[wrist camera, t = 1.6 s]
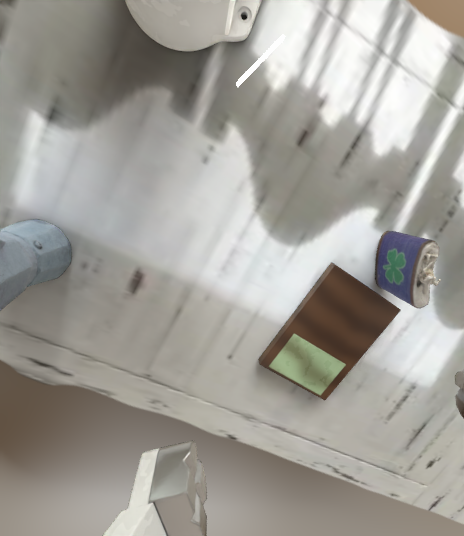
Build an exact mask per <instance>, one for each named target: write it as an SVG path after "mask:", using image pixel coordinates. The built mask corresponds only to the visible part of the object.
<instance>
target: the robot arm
mask: <svg viewBox="0 0 464 536" xmlns="http://www.w3.org/2000/svg"><path fill="white" fill-rule="evenodd" d="M261 1H262V0H125V2H126V4H127V7H128V9H129V11H130V13H131V15H132V16H133V18H134V20H135V21H136V22H137V24H138V25H139V26H140V28H141V29H142V30H143V31H144V32H145V33H146V34H147V35H148V36H149V37H151V38H152V39H153V40H155V41H156V42H158V43H159V44H161V45H163V46H165V47H168V48H170V49H174V50H178V51H196V50H201V49H204V48H207V47H209V46H211V45H213V44H215V43H218V42H221V41H228V42H239V41H243V40H245V39H246V38H247V37H248V36H249V33H250V31H251V28H252V25H253V23H254V20H255V17H256V15H257V12H258V9H259V7H260V4H261ZM242 15H245V16H246V17H247V19H246V20H243V19H242V18H241V16H242ZM284 38H285V36H284V35H282V36H281V37H280V38H279V39H278V40H277V41H276V42H275V43H274V44H273V45H272V46H271V47H270V48H269V49H268V50H267V52H266V53H265V54H264V55H263V56H262V57H261V58H260V59H259V60H258V61H257V62H256V63H255V64H254V65H253V66H252V67H251V68H250V69H249V70H248V71H247V72H246V73H245V74H244V75H243V76H242V77H241V78H240V79H239V80H238V81H237V83H236V85H237V86H239V85H240V84H241V83H242V82H243V81H244V80H245V79H246V78H247V77H248V76H249V75H250V74H251V73H252V72H253V71H254V70H255V69H256V68H257V67H258V66H259V65H260V64H261V63H262V62H263V61H264V60H265V59H266V58H267V57H268V55H269V54H270V53H271V52H272V51H273V50H274V49H275V48H276V47H277V46H278V45H279V44H280V43H281V42H282V41H283V40H284ZM455 384H456V385H457V386H458V387H459V388H460V389H459V391H458V392H457V394H456V406H457V408H458V410H459V412H460V414H461V416H462V417H463V418H464V370H463V371H459V372H457V374H456V375H455ZM206 499H207V489H206V479H205V473H204V469H203V465H202V462H201V461H200V460H198V459H197V448H196V445H195V442H194V441H188V442H183V443H179V444H175V445H170V446H166V447H161V448H159V449H155V450H151V451H146V452H144V453H143V454H142V455H141V457H140V461H139V465H138V469H137V473H136V476H135V480H134V484H133V488H132V492H131V496H130V500H129V503H128V507H127V510H123V511H121V512H120V514H119V515H118V516H117V518H116V519H115V520H114V521H113V523H112V524H111V525H110V527H109V528H108V529H107V531H106V532H105V533H104V534H103V536H206V519H207V516H206V513H205V510H204V507H203V504H204V502H205V501H206Z"/></svg>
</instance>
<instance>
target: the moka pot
mask: <svg viewBox="0 0 464 536" xmlns="http://www.w3.org/2000/svg"><path fill="white" fill-rule="evenodd" d="M70 262H71V245H70V243H69V241H68V239H67V237H66V236H65V235H64V233H63V232H62V231H61V230H60V229H59V228H58V227H57V226H55V225H53V224H51V223H48V222H45V221H42V220H39V219H33V220H27V221H22V222H17V223H15V224H12V225H10V226H7V227H5V228H3V229H0V311H1V310H2V309H3V308H4V307H5V306H6V305H8V304H9V303H10V302H11V301H13V300H14V299H15V298H16V297H17V296H18V295H20V294H21V293H22V292H23V291H24V290H25V289H26V287H29V286H32V285H35V284H38V283H42V282H45V281H49V280H52V279H56V278H58V277H59V276H61V275H62V274H63V272H64V271H65V270H66V269H67V267H68V266H69V265H70Z"/></svg>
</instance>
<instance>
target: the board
mask: <svg viewBox="0 0 464 536" xmlns="http://www.w3.org/2000/svg"><path fill="white" fill-rule="evenodd" d="M399 312H400V309H399V308H397V307H396V306H395V305H393V304H392V303H390V302H389V301H387V300H386V299H384V298H383V297H382V296H380V295H379V294H377V293H376V292H374V291H373V290H371V289H370V288H368V287H367V286H366V285H364V284H363V283H361V282H360V281H358V280H357V279H355V278H354V277H352V276H351V275H350V274H348V273H347V272H345V271H344V270H342V269H341V268H339V267H338V266H336V265H335V264H333V263H331V264H330V265H329V266H328V268H327V269H326V270H325V272H324V273H323V274H322V276H321V277H320V278H319V280H318V281H317V282H316V284H315V285H314V286H313V288H312V289H311V290H310V292H309V293H308V294H307V296H306V297H305V298H304V300H303V301H302V302H301V304H300V305H299V306H298V308H297V309H296V310H295V312H294V313H293V314H292V316H291V317H290V318H289V320H288V321H287V322H286V324H285V325H284V326H283V327H282V329H281V330H280V331H279V333H278V334H277V335H276V337H275V338H274V339H273V341H272V342H271V343H270V345H269V346H268V347H267V349H266V350H265V351H264V353H263V354H262V355H261V357H260V358H259V363H260V365H262V366H264V367H265V368H267V369H269V370H271V371H273V372H274V373H276V374H278V375H280V376H282V377H283V378H285V379H287V380H289V381H291V382H292V383H294V384H296V385H298V386H300V387H301V388H303V389H305V390H307V391H309V392H311V393H312V394H314V395H316V396H318V397H320V398H321V399H323V400H326V399H327V398H328V396H329V395H330V394H331V393H332V392H333V390H334V389H335V388H336V387H337V386H338V384H339V383H340V382H341V381H342V380H343V378H344V377H345V376H346V375H347V374H348V372H349V371H350V370H351V369H352V368H353V367H354V365H355V364H356V363H357V362H358V361H359V359H360V358H361V357H362V356H363V355H364V353H365V352H366V351H367V350H368V349H369V347H370V346H371V345H372V344H373V343H374V341H375V340H376V339H377V338H378V337H379V335H380V334H381V333H382V332H383V331H384V330H385V328H386V327H387V326H388V325H389V324H390V322H391V321H392V320H393V319H394V318H395V316H396V315H397V314H398V313H399Z"/></svg>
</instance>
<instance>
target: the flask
mask: <svg viewBox="0 0 464 536" xmlns="http://www.w3.org/2000/svg"><path fill="white" fill-rule="evenodd" d="M377 249H378V250H377V253H376V269H375V270H376V274H375V275H376V277H375V279H376V283H377V285H378V286H379V287H380V288H382V289H384V290H386V291H388V292H390V293H392V294H393V295H395V296H396V297H398V298H400V299H402V300H404V301H405V302H407V303H409V304H410V305H412V306H414V307H416V308H422V307H425V306H426V305H428V303H429V294H430V290H429V289H430V284H434V285H435V286H437V285H438V283H439V282H440V281H441V280H440V279H439V280H438V281H435V279H436V277H434V274H433V268H434V264H435V261H436V259H437V257H438V256H439V247H438V245H437V243H436V242H435V241H433V240H429V239H424V238H419V237H416V236H411V235H407V234H402V233H399V232H394V231H387V232H384V234H383V235H382V236H381V239H380V241H379V245H378V248H377Z"/></svg>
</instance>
